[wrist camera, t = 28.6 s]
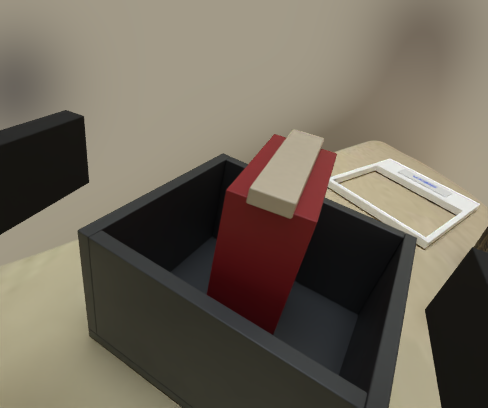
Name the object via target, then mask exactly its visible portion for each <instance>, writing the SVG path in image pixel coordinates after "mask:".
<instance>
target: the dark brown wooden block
mask: <svg viewBox="0 0 488 408" xmlns="http://www.w3.org/2000/svg"><path fill="white" fill-rule="evenodd" d="M473 248H476V249H479V250H482V251H485V252H487V253H488V227H487V228H486V230H485V231H484V233H483V234H482V236H481V237H480V239H479V240H478V241H477V243H476V245H475V246H474V247H473Z"/></svg>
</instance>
